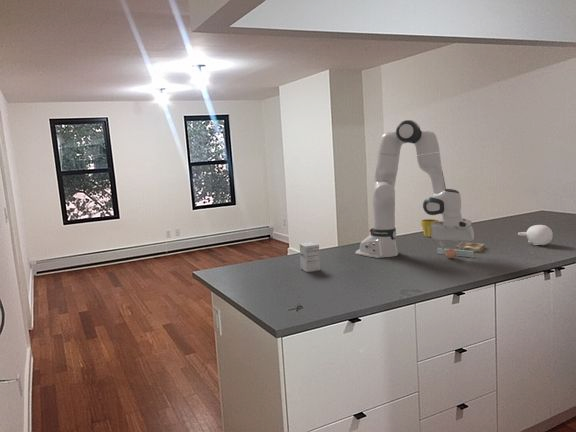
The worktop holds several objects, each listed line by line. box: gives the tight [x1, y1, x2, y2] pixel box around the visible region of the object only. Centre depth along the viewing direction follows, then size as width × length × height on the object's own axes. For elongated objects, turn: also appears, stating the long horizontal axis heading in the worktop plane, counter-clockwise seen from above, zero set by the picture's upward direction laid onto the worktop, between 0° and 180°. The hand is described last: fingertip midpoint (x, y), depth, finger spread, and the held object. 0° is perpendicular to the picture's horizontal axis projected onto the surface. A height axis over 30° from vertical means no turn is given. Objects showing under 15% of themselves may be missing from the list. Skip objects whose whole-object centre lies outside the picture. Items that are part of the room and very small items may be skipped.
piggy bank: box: [517, 224, 554, 246], centre depth 259 cm, size 12×12×15 cm
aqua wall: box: [436, 247, 475, 259], centre depth 245 cm, size 18×1×3 cm, turn 54°
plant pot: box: [420, 218, 440, 238], centre depth 294 cm, size 10×10×10 cm
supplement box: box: [299, 241, 321, 273], centre depth 230 cm, size 7×7×13 cm
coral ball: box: [445, 248, 457, 260], centre depth 239 cm, size 5×5×5 cm
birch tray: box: [455, 241, 486, 254], centre depth 257 cm, size 12×12×2 cm
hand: (452, 249), depth 239 cm, fingers open, 8 cm apart
